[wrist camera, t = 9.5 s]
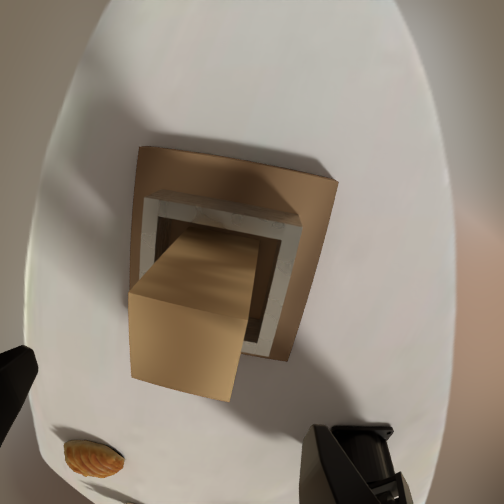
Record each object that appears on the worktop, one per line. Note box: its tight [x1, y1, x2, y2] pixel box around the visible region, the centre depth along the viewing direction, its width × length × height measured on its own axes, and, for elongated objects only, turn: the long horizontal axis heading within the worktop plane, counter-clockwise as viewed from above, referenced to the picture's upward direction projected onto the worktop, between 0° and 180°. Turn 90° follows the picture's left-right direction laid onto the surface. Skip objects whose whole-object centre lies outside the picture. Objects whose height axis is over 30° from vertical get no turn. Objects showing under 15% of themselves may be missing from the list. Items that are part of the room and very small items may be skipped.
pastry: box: [64, 440, 125, 478], centre depth 28 cm, size 9×7×4 cm
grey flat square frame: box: [139, 189, 303, 357], centre depth 17 cm, size 8×8×2 cm
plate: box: [130, 146, 339, 362], centre depth 18 cm, size 11×12×1 cm
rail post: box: [128, 226, 260, 402], centre depth 14 cm, size 4×4×8 cm
